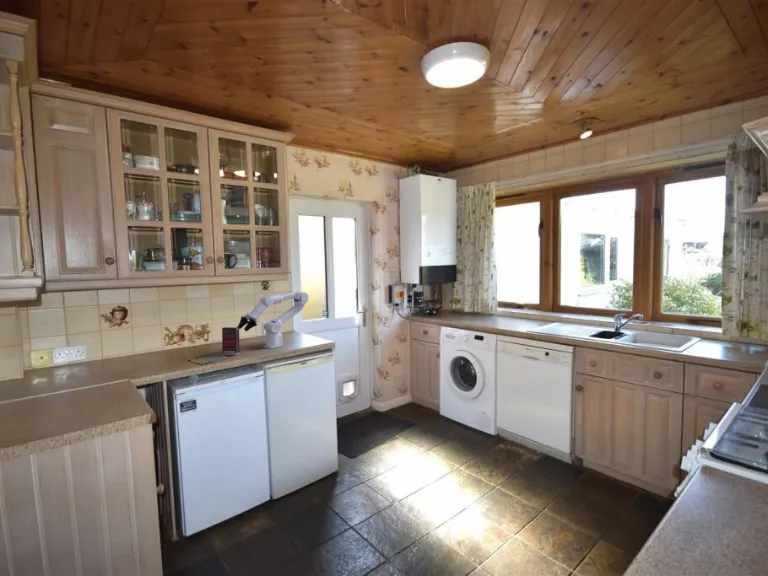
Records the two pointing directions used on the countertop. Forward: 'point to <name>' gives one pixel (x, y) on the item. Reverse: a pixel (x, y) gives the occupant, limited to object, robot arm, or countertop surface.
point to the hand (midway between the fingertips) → (241, 329)
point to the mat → (214, 357)
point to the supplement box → (230, 341)
